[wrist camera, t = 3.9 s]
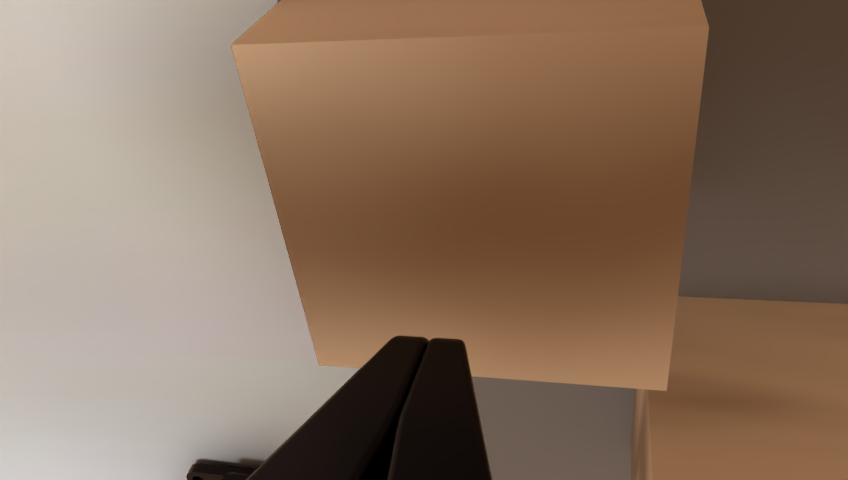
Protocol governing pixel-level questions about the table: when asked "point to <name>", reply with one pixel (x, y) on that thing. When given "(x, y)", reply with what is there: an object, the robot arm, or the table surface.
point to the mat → (719, 221)
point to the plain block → (484, 175)
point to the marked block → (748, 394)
